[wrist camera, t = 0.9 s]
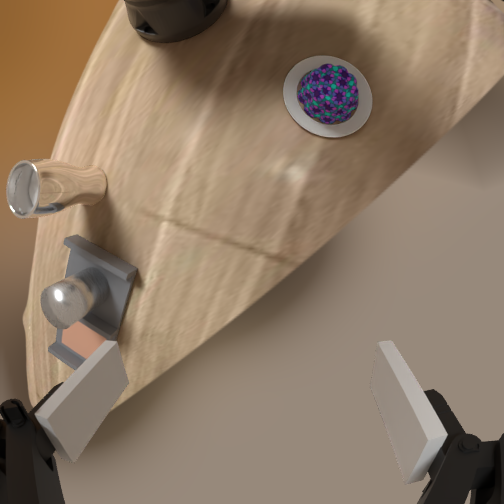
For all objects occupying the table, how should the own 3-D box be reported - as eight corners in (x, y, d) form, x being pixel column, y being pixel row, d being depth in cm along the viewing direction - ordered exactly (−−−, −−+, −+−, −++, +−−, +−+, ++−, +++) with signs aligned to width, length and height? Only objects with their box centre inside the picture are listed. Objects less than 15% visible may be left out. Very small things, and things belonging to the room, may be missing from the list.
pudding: (361, 150, 36) (372, 145, 31) (273, 124, 37) (272, 114, 32) (377, 73, 34) (389, 60, 29) (294, 48, 34) (296, 31, 29)
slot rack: (77, 234, 42) (64, 238, 39) (137, 268, 42) (127, 274, 39) (57, 343, 47) (48, 351, 44) (107, 376, 47) (99, 385, 44)
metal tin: (74, 271, 42) (35, 290, 33) (101, 263, 42) (62, 282, 32) (87, 306, 43) (51, 331, 34) (114, 300, 43) (79, 327, 33)
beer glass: (69, 173, 40) (1, 174, 25) (102, 154, 39) (34, 147, 24) (81, 214, 41) (12, 229, 26) (115, 198, 40) (47, 206, 25)
